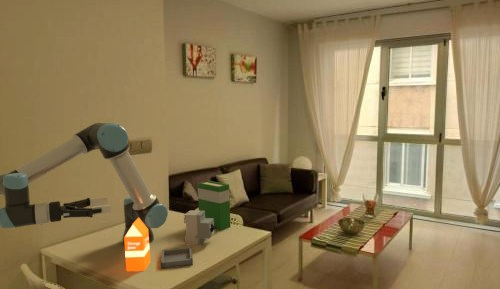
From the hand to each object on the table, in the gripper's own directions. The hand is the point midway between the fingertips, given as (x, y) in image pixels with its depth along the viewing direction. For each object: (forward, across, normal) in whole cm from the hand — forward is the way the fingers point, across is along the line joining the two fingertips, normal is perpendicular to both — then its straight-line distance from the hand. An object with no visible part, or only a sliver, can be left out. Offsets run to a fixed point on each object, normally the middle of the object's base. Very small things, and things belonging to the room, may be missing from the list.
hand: (109, 204), depth 148 cm
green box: (+57, -33, -28) cm, 72 cm away
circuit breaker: (+42, -12, -28) cm, 52 cm away
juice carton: (+10, 0, -28) cm, 30 cm away
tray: (+26, +2, -28) cm, 38 cm away
